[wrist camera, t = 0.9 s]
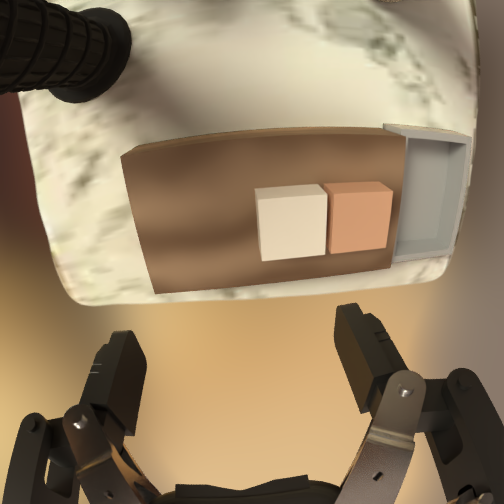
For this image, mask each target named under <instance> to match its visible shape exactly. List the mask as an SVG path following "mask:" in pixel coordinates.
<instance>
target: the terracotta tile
mask: <svg viewBox="0 0 504 504" xmlns="http://www.w3.org/2000/svg"><path fill="white" fill-rule="evenodd" d="M324 191H325V192H326V193H327V222H326V244H325V245H326V246H327V248H328V250H329V252H330V253H331V254H335V253H344V252H353V251H362V250H371V249H379V248H386V243H387V236H388V230H389V222H390V215H391V206H392V197H393V191H392V190H391V189H389V188H388V187H386V186H385V185H383V184H382V183H381V182H379V181H378V182H348V183H327V184H324Z"/></svg>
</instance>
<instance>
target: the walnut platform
mask: <svg viewBox="0 0 504 504" xmlns="http://www.w3.org/2000/svg"><path fill="white" fill-rule="evenodd" d="M405 149H406V136H403V135H400V134H397V133H394V132H391V131H388V130H384V129H381V128H367V127H293V128H273V129H257V130H245V131H234V132H224V133H215V134H207V135H199V136H192V137H185V138H178V139H172V140H166V141H160V142H155V143H149V144H144V145H139V146H137V147H135V148H133V149H132V150H130V151H129V152H127V153H125V154H124V155H122V156H121V157H120V158H121V163H122V169H123V174H124V178H125V183H126V188H127V192H128V197H129V201H130V205H131V210H132V214H133V218H134V222H135V226H136V230H137V233H138V237H139V241H140V245H141V248H142V252H143V255H144V259H145V262H146V266H147V269H148V273H149V276H150V279H151V282H152V286H153V289H154V292H155V294H162V293H175V292H187V291H198V290H209V289H219V288H230V287H240V286H250V285H259V284H268V283H277V282H286V281H295V280H303V279H311V278H320V277H328V276H335V275H343V274H351V273H358V272H365V271H373V270H380V269H387V268H390V267H391V261H392V256H393V251H394V245H395V239H396V233H397V226H398V219H399V212H400V204H401V196H402V187H403V176H404V164H405ZM378 181H379V182H381V183H382V184H383V185H385V186H386V187H388V188H389V189H391V190H392V191H393V197H392V206H391V215H390V222H389V230H388V236H387V243H386V248H379V249H371V250H362V251H353V252H344V253H335V254H331V253H330V252H329V250H328V248H327V246H326V245H325V255H317V256H308V257H299V258H289V259H280V260H270V261H262V259H261V254H260V249H259V242H258V228H257V214H256V201H255V189H257V188H269V187H281V186H294V185H309V184H318V185H319V186H320V187H321V188H322V189H323V190H324V184H327V183H348V182H378Z"/></svg>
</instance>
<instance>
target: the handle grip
mask: <svg viewBox="0 0 504 504" xmlns="http://www.w3.org/2000/svg"><path fill="white" fill-rule="evenodd" d="M130 49H131V35H130V30H129V28H128V25H127V23H126V21H125V20H124V19H123V18H122V17H121V16H120V14H118V13H116V12H114V11H113V10H111V9H106V8H100V7H99V8H90V9H86V10H83V11H80V12H74V11H69V10H68V9H67V8H64V7H62V6H61V5H59V4H54V3H48V2H47V1H46V0H0V95H2V94H5V93H7V92H11V93H15V92H20V91H23V92H25V91H31V90H34V89H36V90H42V89H48V90H49V91H50V92H51V93H52V94H53V95H54V96H55V97H56V98H58V99H60V100H62V101H64V102H69V103H81V102H87V101H89V100H91V99H93V98H96V97H98V96H99V95H101V94H102V93H104V92H105V91H106V90H108V89H109V88H110V87H111V86H112V85H113V84H114V83H115V81H116V80H117V79H118V78H119V76H120V75H121V73H122V71H123V70H124V68H125V66H126V63H127V61H128V58H129V55H130Z"/></svg>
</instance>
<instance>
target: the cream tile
mask: <svg viewBox="0 0 504 504" xmlns="http://www.w3.org/2000/svg"><path fill="white" fill-rule="evenodd" d="M255 201H256V214H257V228H258V242H259V249H260V254H261V259H262V261H270V260H280V259H289V258H299V257H308V256H317V255H325V244H326V222H327V193H326V192H325V191H324V190H323V189H322V188H321V187H320V186H319V185H318V184H309V185H294V186H281V187H269V188H257V189H255Z"/></svg>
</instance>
